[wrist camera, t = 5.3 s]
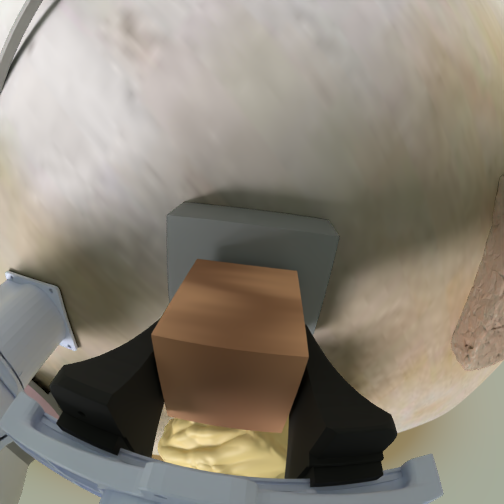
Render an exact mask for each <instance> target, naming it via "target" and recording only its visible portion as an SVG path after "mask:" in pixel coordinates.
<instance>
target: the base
mask: <svg viewBox="0 0 504 504" xmlns="http://www.w3.org/2000/svg"><path fill="white" fill-rule="evenodd" d="M339 237H340V236H339V235H338V233H337V232H336V230H335V229H334V227H333V226H332V224H331V223H330V221H329V220H326V219H320V218H313V217H306V216H299V215H292V214H285V213H277V212H270V211H262V210H254V209H245V208H237V207H228V206H219V205H209V204H199V203H189V202H183V203H182V204H181V205H179V206H178V207H177V208H175V209H174V210H173V211H171V212H170V213H169V214H168V215H167V269H168V291H169V303H170V302H171V300H172V298H173V297H174V295H175V293H176V292H177V290H178V289H179V287H180V285H181V284H182V282H183V280H184V279H185V277H186V276H187V274H188V272H189V271H190V269H191V268H192V266H193V264H194V263H195V261H196V260H197V259H203V260H211V261H219V262H227V263H235V264H243V265H251V266H260V267H268V268H277V269H285V270H294V271H297V274H298V280H299V287H300V293H301V300H302V307H303V315H304V322H305V324H306V325H307V326H308V328H309V330H310V332H311V333H312V335H313V334H314V331H315V327H316V324H317V321H318V318H319V314H320V311H321V307H322V304H323V300H324V297H325V293H326V289H327V286H328V282H329V278H330V274H331V270H332V266H333V262H334V258H335V254H336V250H337V245H338V241H339Z"/></svg>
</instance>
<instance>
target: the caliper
mask: <svg viewBox="0 0 504 504" xmlns="http://www.w3.org/2000/svg"><path fill="white" fill-rule="evenodd" d="M42 1H43V0H26V2H25V3H24V5H23V7H22V9H21V11H20V12H19V14H18V16H17V18H16V20H15V22H14V24H13V26H12V28H11V30H10V32H9V35H8V37H7V39H6V41H5V44H4V46H3V48H2V51H1V53H0V93H1V90H2V87H3V84H4V81H5V78H6V76H7V73H8V70H9V67H10V65H11V62H12V60H13V57H14V55H15V53H16V50H17V48H18V46H19V44H20V41H21V39H22V37H23V35H24V33H25V31H26V29H27V27H28V25H29V23H30V22H31V20H32V18H33V16H34V14H35V13H36V11H37V9H38V8H39V6H40V4H41V3H42Z"/></svg>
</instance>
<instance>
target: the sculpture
mask: <svg viewBox="0 0 504 504" xmlns="http://www.w3.org/2000/svg"><path fill="white" fill-rule="evenodd" d="M288 427H289V415H288V418H287V420H286V423H285V426H284V428H283V431H282V433H273V432H261V431H250V430H241V429H234V428H226V427H220V426H214V425H208V424H202V423H197V422H192V421H188V420H183V419H178V418H174V419H172V420H170V421H169V422H168V424H167V425H166V426H165V428H164V433H163V435H162V437H161V439H160V441H159V443H158V452H159V454H160V456H161V457H162V458H163V459H164V462H167V463H171V464H175V465H180V466H184V467H189V468H193V469H198V470H204V471H209V472H215V473H222V474H229V475H237V476H247V477H259V478H278V479H284V476H285V468H286V457H287V445H288Z"/></svg>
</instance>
